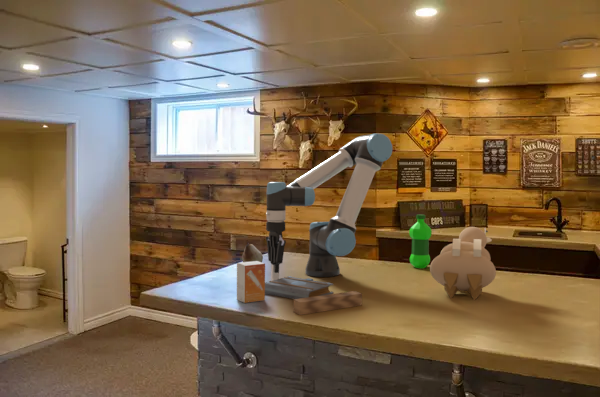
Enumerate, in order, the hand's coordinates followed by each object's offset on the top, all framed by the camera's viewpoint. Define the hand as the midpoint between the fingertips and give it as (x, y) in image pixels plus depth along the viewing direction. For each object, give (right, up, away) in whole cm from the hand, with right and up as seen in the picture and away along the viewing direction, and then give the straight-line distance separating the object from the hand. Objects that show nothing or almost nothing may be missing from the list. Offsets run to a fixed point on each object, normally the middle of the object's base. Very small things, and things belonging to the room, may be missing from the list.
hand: (275, 280), depth 193 cm
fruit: (-12, 0, +34) cm, 36 cm away
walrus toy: (+69, -3, -15) cm, 71 cm away
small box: (-7, -3, -23) cm, 24 cm away
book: (+9, -3, -13) cm, 16 cm away
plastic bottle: (+67, -1, +39) cm, 77 cm away
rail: (+19, -4, -33) cm, 39 cm away
